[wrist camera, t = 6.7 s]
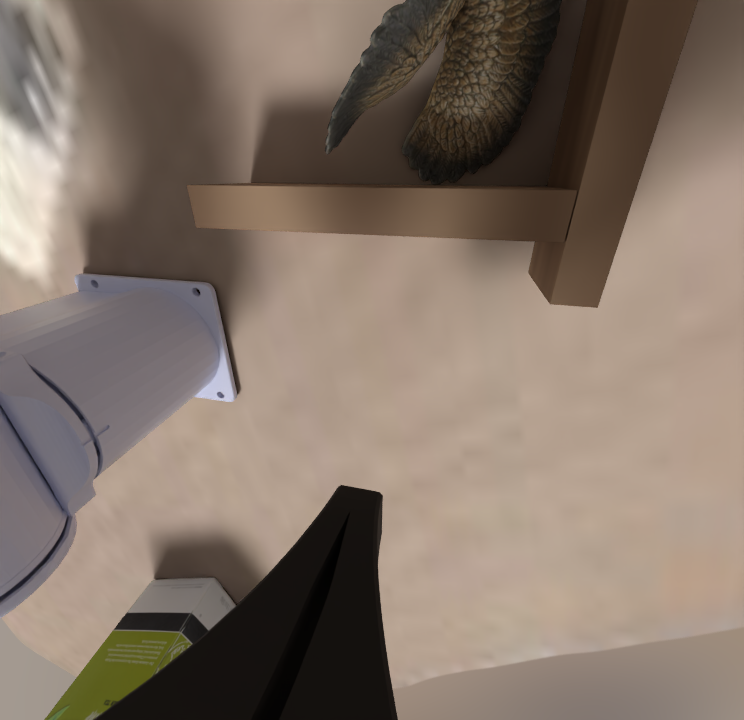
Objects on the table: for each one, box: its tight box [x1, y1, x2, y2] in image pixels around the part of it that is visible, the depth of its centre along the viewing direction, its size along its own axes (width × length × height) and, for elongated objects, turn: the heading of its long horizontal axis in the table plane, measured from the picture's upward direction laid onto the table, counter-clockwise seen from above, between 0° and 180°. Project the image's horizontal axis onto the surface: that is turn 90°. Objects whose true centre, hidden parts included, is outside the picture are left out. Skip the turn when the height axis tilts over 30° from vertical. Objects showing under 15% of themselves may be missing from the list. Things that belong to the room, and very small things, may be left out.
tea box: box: [45, 578, 236, 720], centre depth 34 cm, size 15×10×15 cm
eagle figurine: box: [325, 0, 562, 185], centre depth 10 cm, size 8×7×9 cm
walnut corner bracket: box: [187, 0, 698, 308], centre depth 11 cm, size 15×16×4 cm
